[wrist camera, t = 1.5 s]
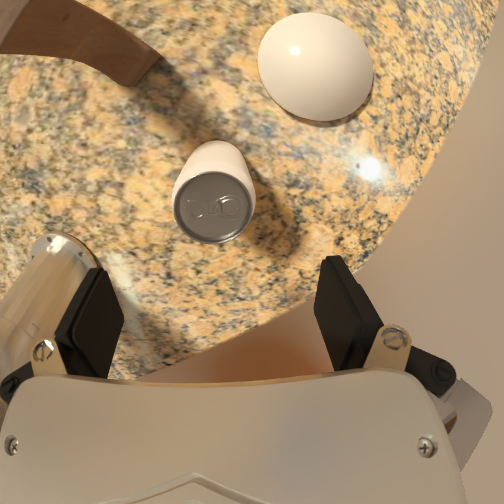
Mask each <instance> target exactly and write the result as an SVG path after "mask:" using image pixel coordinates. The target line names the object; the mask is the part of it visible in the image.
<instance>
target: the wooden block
mask: <svg viewBox="0 0 504 504" xmlns="http://www.w3.org/2000/svg"><path fill="white" fill-rule="evenodd" d="M0 54H21V55H38V56H49V57H58V58H66V59H72V60H75V61H79V62H82V63H85V64H87V65H89V66H91V67H93V68H95V69H97V70H99V71H101V72H102V73H104V74H105V75H107V76H108V77H109V78H111V79H112V80H114V81H115V82H117V83H118V84H120V85H130V86H134V85H136V84H137V83H138V82H139V81H140V79H141V78H142V77H143V76H144V75H145V74H146V73H147V71H148V70H149V69H150V68H151V67H152V66H153V65H154V64H155V63H156V62H157V61H158V59H159V58H160V56H161V55H160V53H158V52H157V51H156V50H154V49H153V48H151V47H150V46H149V45H147V44H146V43H144V42H143V41H142V40H140V39H139V38H137V37H136V36H134V35H133V34H131V33H130V32H129V31H127V30H126V29H124V28H123V27H121V26H119V25H118V24H116V23H115V22H113V21H112V20H110V19H108V18H107V17H105V16H103V15H101V14H100V13H98V12H96V11H94V10H92V9H91V8H89V7H87V6H85V5H83V4H81V3H79V2H77V1H75V0H0Z"/></svg>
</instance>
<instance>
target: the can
mask: <svg viewBox="0 0 504 504" xmlns="http://www.w3.org/2000/svg"><path fill="white" fill-rule="evenodd" d="M255 204H256V195H255V189H254V186H253V182H252V179H251V176H250V174H249V171H248V168H247V165H246V162H245V160H244V157H243V155H242V154H241V152H240V151H239V150H238V149H237V148H236V147H235V146H233V145H232V144H230V143H228V142H224V141H209V142H206V143H204V144H202V145H200V146H199V147H197V148H196V149H195V150H194V151H193V153H192V154H191V155H190V157H189V159H188V160H187V162H186V164H185V166H184V167H183V169H182V171H181V173H180V175H179V177H178V179H177V181H176V183H175V185H174V188H173V192H172V208H173V212H174V216H175V220H176V222H177V224H178V226H179V227H180V229H181V230H182V231H183V232H184V233H185V234H186V235H187V236H188V237H190V238H191V239H193V240H195V241H197V242H200V243H204V244H222V243H226V242H229V241H231V240H233V239H235V238H236V237H238V236H239V235H240V234H241V233H242V232H243V231H244V230H245V229H246V228H247V226H248V224H249V222H250V220H251V217H252V215H253V212H254V209H255Z"/></svg>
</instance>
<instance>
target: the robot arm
mask: <svg viewBox="0 0 504 504" xmlns="http://www.w3.org/2000/svg"><path fill="white" fill-rule="evenodd" d="M30 259H31V262H30V263H29V264H28V266H27V267H26V268H25V269H24V271H23V272H22V273H21V274H20V276H19V277H18V278H17V279H16V281H15V282H14V283H13V285H12V286H11V288H10V289H9V290H8V292H7V293H6V294H5V296H4V297H3V299H2V300H1V302H0V504H467V500H466V495H465V490H464V485H463V481H462V477H461V473H460V472H461V470H462V469H463V467H464V466H465V464H466V463H467V461H468V459H469V458H470V456H471V454H472V453H473V451H474V449H475V447H476V446H477V444H478V442H479V440H480V438H481V437H482V434H483V433H484V431H485V429H486V427H487V425H488V422H489V420H490V418H491V416H492V406H491V403H490V402H489V401H488V400H487V399H486V398H485V397H484V396H482V395H481V394H480V393H479V392H477V391H476V390H475V389H474V388H473V387H471V386H470V385H469V384H468V383H466V382H465V381H464V380H463V379H462V378H461V379H460V380H458V379H457V378H456V372H455V369H454V368H453V366H452V365H451V364H450V363H449V362H447V361H446V360H443V359H441V358H439V357H436V356H434V355H432V354H430V353H427V352H425V351H423V350H421V349H418V348H416V347H414V346H412V345H411V342H412V341H411V337H410V335H409V333H408V332H407V331H406V330H405V329H404V328H402V327H400V326H397V325H385V326H384V324H383V322H382V321H381V319H380V317H379V315H378V313H377V312H376V310H375V308H374V307H373V305H372V303H371V301H370V300H369V298H368V296H367V295H366V293H365V291H364V290H363V288H362V287H361V285H360V284H358V283H357V282H356V280H355V279H354V277H353V275H352V274H351V272H350V270H349V269H348V267H347V265H346V264H345V262H344V261H343V259H342V257H341V256H340V255H336V256H327V257H326V259H325V260H322V263H321V269H320V275H319V281H318V286H317V292H316V297H315V303H314V314H315V316H316V319H317V322H318V325H319V327H320V330H321V333H322V336H323V339H324V342H325V344H326V348H327V350H328V353H329V356H330V359H331V362H332V365H333V368H334V371H335V372H328V373H322V374H314V375H307V376H298V377H290V378H282V379H271V380H260V381H246V382H227V383H155V382H138V381H124V380H113V379H107V377H108V373H109V370H110V366H111V362H112V359H113V355H114V352H115V348H116V345H117V342H118V339H119V335H120V332H121V329H122V326H123V323H124V315H123V312H122V310H121V307H120V305H119V302H118V300H117V297H116V295H115V292H114V289H113V287H112V284H111V281H110V278H109V276H108V273H107V271H104V269H103V268H101V267H100V268H98V266H97V264H96V262H95V260H94V258H93V256H92V255H91V253H90V252H89V251H88V249H87V248H86V247H85V246H84V245H83V244H82V243H81V242H79V241H78V240H77V239H75V238H74V237H72V236H70V235H68V234H66V233H63V232H58V231H49V232H46V233H44V234H42V235H41V236H39V237H38V239H37V240H36V241H35V242H34V244H33V245H32V249H31V254H30Z"/></svg>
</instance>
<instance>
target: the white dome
mask: <svg viewBox="0 0 504 504" xmlns="http://www.w3.org/2000/svg"><path fill="white" fill-rule="evenodd" d="M257 69H258V73H259V77H260V79H261V82H262V84H263V86H264V88H265V90H266V91H267V93H268V94H269V95H270V97H271V98H272V99H273V100H274V101H275V102H276V103H277V104H278V105H280V106H281V107H282V108H284V109H285V110H287V111H288V112H290V113H292V114H294V115H297V116H299V117H302V118H306V119H310V120H316V121H330V120H336V119H340V118H342V117H345V116H347V115H349V114H351V113H352V112H354V111H355V110H356V109H358V108H359V107H360V106H361V105H362V103H363V102H364V101H365V99H366V98H367V96H368V94H369V92H370V89H371V86H372V81H373V65H372V60H371V57H370V54H369V52H368V49H367V47H366V46H365V44H364V42H363V41H362V40H361V38H360V37H359V36H358V35H357V34H356V33H355V32H354V31H353V30H352V29H351V28H350V27H349V26H347V25H346V24H344V23H343V22H341V21H339V20H337V19H335V18H333V17H330V16H327V15H324V14H319V13H299V14H294V15H291V16H288V17H286V18H284V19H282V20H280V21H278V22H277V23H276V24H274V25H273V26H272V27H271V28H270V29H269V31H268V32H267V33H266V34H265V36H264V38H263V39H262V41H261V43H260V46H259V49H258V54H257Z"/></svg>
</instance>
